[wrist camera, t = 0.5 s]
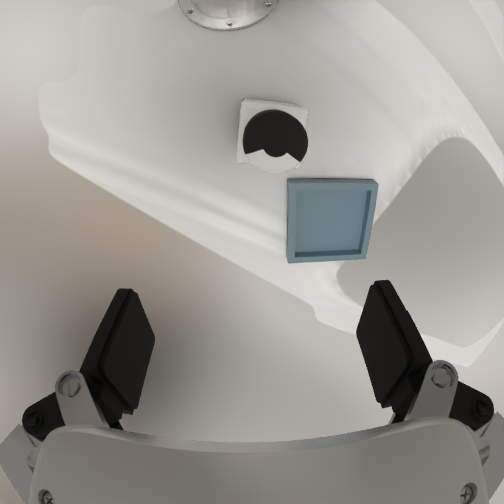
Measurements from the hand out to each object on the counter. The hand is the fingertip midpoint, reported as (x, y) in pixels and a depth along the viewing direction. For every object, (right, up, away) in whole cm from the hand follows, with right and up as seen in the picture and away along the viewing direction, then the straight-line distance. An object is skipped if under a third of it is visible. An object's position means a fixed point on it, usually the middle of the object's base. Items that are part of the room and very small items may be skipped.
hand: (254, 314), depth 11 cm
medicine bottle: (+2, +19, +23) cm, 29 cm away
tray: (+12, +7, +30) cm, 33 cm away
